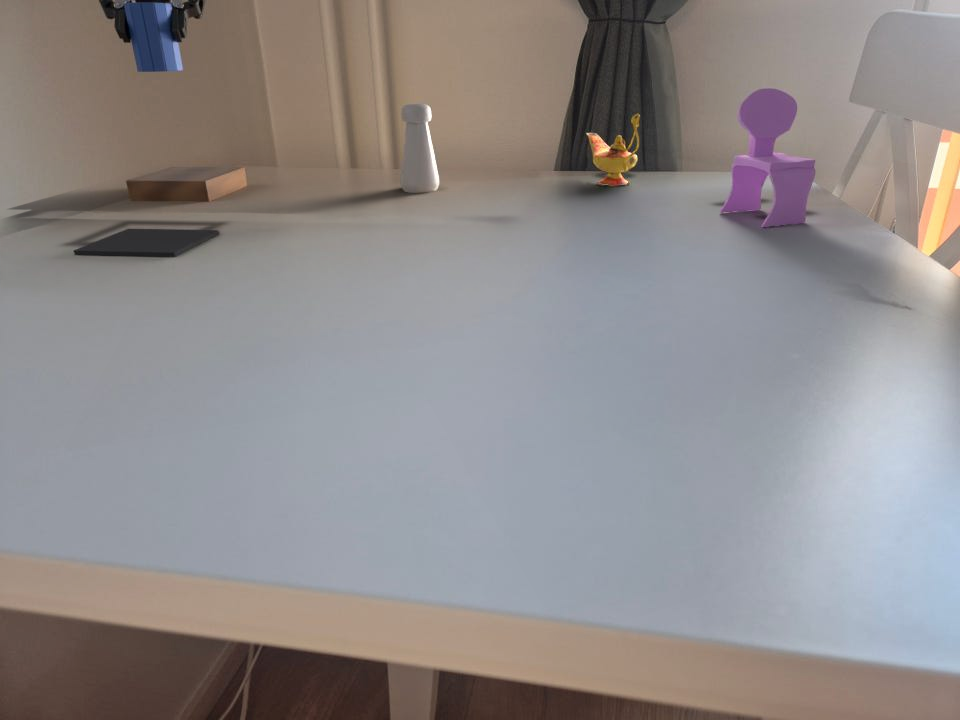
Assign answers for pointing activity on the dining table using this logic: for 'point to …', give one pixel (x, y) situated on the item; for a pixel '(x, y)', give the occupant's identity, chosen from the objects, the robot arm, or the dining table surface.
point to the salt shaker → (418, 151)
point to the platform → (187, 184)
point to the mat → (147, 242)
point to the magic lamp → (614, 156)
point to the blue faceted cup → (153, 37)
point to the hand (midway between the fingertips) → (151, 37)
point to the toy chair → (770, 161)
